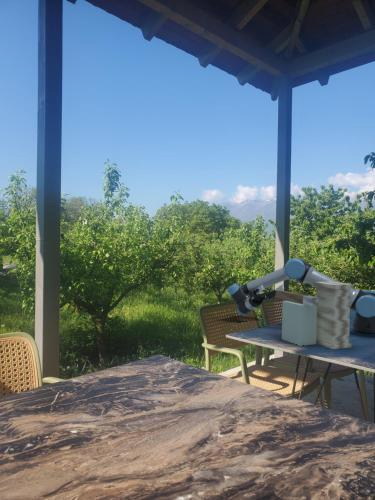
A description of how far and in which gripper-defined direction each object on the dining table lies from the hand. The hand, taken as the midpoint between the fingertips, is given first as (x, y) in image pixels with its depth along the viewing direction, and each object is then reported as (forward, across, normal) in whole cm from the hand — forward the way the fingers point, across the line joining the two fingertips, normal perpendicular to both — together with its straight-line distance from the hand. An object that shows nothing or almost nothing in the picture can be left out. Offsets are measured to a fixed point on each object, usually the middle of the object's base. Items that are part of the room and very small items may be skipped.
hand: (273, 286), depth 216 cm
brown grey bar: (+13, 0, -14) cm, 20 cm away
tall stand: (+15, -12, -38) cm, 42 cm away
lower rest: (+6, 0, -32) cm, 33 cm away
